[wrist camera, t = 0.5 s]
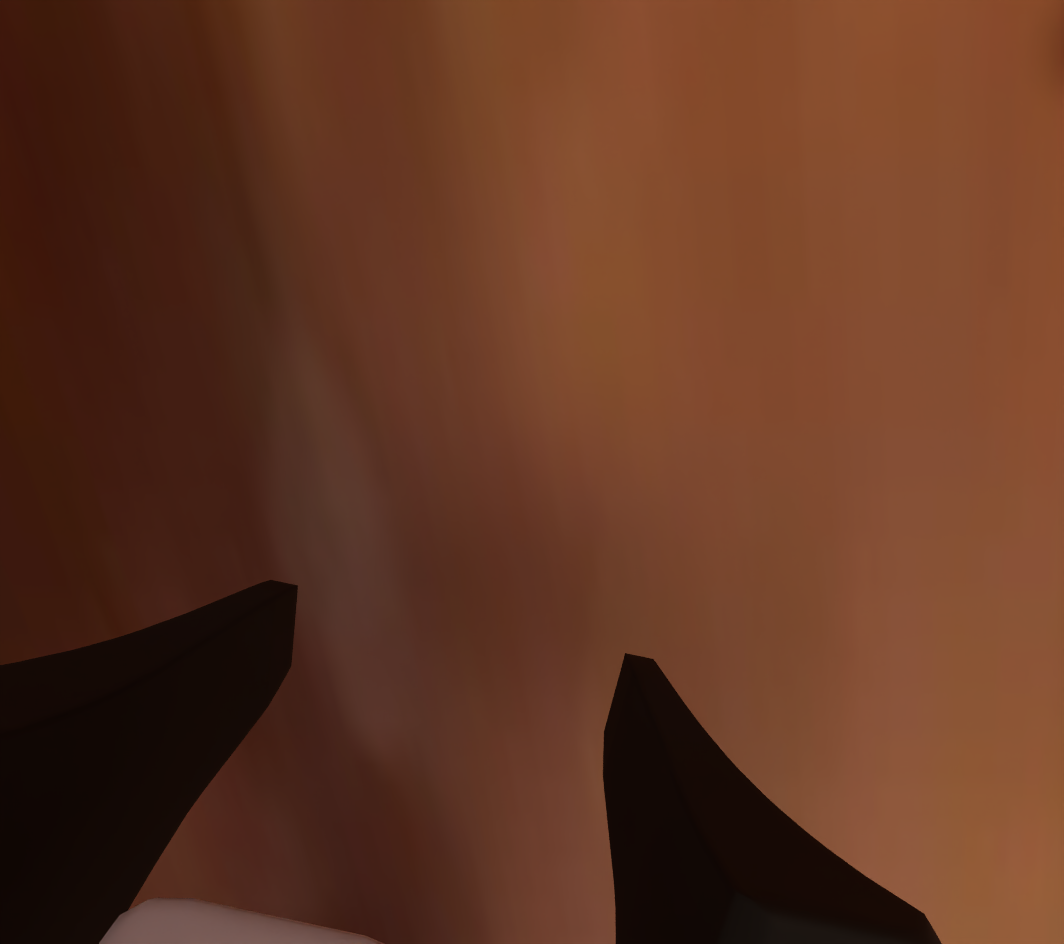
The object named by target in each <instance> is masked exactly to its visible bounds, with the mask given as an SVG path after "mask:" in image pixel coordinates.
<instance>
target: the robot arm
mask: <svg viewBox="0 0 1064 944" xmlns="http://www.w3.org/2000/svg"><path fill="white" fill-rule="evenodd" d="M297 590H298V585H293V584H288V583H283V582H278V581H273V580H269V581H266V582H263V583H260V584H257V585H254V586H252V587H249V588H247V589H244V590H242V591H240V592H237V593H235V594H232V595H230V596H228V597H225V598H223V599H220V600H218V601H215V602H213V603H211V604H208V605H206V606H203V607H201V608H198V609H196V610H193V611H191V612H188V613H186V614H183V615H180V616H178V617H175V618H172V619H170V620H167V621H164V622H161V623H159V624H156V625H153V626H150V627H148V628H145V629H142V630H139V631H136V632H133V633H130V634H127V635H124V636H121V637H118V638H114V639H111V640H108V641H104V642H100V643H97V644H93V645H90V646H86V647H83V648H79V649H75V650H71V651H66V652H62V653H57V654H53V655H48V656H43V657H39V658H34V659H30V660H25V661H21V662H16V663H11V664H5V665H0V944H384V943H382V942H379V941H377V940H375V939H372V938H370V937H368V936H365V935H360V934H356V933H351V932H346V931H342V930H337V929H333V928H328V927H323V926H319V925H314V924H309V923H305V922H300V921H295V920H291V919H286V918H282V917H277V916H272V915H268V914H263V913H258V912H254V911H249V910H244V909H240V908H235V907H231V906H226V905H221V904H217V903H212V902H207V901H203V900H198V899H193V898H155V899H149V900H147V901H145V902H143V903H141V904H139V905H137V906H136V907H134V908H132V909H130V910H128V909H129V907H130V906H131V904H132V902H133V901H134V899H135V897H136V896H137V894H138V892H139V891H140V889H141V887H142V886H143V884H144V882H145V881H146V879H147V877H148V876H149V874H150V872H151V871H152V869H153V867H154V865H155V864H156V862H157V861H158V859H159V857H160V856H161V854H162V853H163V851H164V849H165V848H166V846H167V845H168V843H169V841H170V840H171V838H172V837H173V835H174V833H175V832H176V830H177V829H178V827H179V825H180V824H181V822H182V821H183V819H184V818H185V816H186V814H187V813H188V812H189V810H190V809H191V807H192V806H193V805H194V803H195V802H196V800H197V799H198V798H199V796H200V795H201V793H202V792H203V791H204V789H205V788H206V787H207V786H208V784H209V783H210V782H211V780H212V779H213V778H214V776H215V775H216V774H217V773H218V771H219V770H220V769H221V767H222V766H223V765H224V764H225V762H226V761H227V760H228V758H229V757H230V756H231V754H232V753H233V752H234V751H235V749H236V748H237V747H238V745H239V744H240V743H241V741H242V740H243V739H244V738H245V736H246V735H247V734H248V732H249V731H250V730H251V728H252V727H253V726H254V724H255V723H256V722H257V720H258V719H259V718H260V717H261V715H262V714H263V712H264V711H265V710H266V708H267V707H268V706H269V704H270V702H271V701H272V699H273V697H274V696H275V694H276V692H277V691H278V689H279V687H280V685H281V683H282V682H283V680H284V678H285V676H286V674H287V673H288V671H289V669H290V667H291V663H292V650H293V638H294V626H295V614H296V602H297ZM603 780H604V791H605V801H606V811H607V821H608V830H609V840H610V849H611V859H612V868H613V878H614V890H615V906H616V944H942V943H941V942H940V940H939V938H938V936H937V935H936V933H935V931H934V929H933V928H932V926H931V924H930V923H929V921H928V919H927V918H926V916H925V914H924V913H922V912H921V911H919V910H917V909H916V908H914V907H913V906H911V905H910V904H908V903H907V902H905V901H903V900H902V899H900V898H899V897H897V896H896V895H894V894H893V893H891V892H889V891H888V890H886V889H885V888H883V887H882V886H880V885H879V884H877V883H875V882H874V881H872V880H871V879H869V878H868V877H866V876H865V875H863V874H862V873H860V872H859V871H857V870H856V869H855V868H853V867H852V866H851V865H849V864H848V863H847V862H845V861H844V860H842V859H841V858H840V857H838V856H837V855H836V854H834V853H833V852H832V851H830V850H829V849H827V848H826V847H825V846H824V845H822V844H821V843H820V842H819V841H817V840H816V839H815V838H813V837H812V836H811V835H810V834H808V833H807V832H806V831H805V830H804V829H802V828H801V827H800V826H799V825H798V824H797V823H795V822H794V821H793V820H792V819H791V818H790V817H788V816H787V815H786V814H785V813H784V812H783V811H781V810H780V809H779V808H778V807H777V806H776V805H775V804H774V803H772V802H771V801H770V800H769V799H768V798H767V797H766V796H765V795H764V794H763V793H762V792H761V791H760V790H759V789H758V788H757V787H756V786H755V785H754V784H753V783H752V782H751V781H750V780H749V779H748V778H747V777H746V776H745V775H744V774H743V773H742V772H741V771H740V770H739V769H738V768H737V767H736V766H735V765H734V764H733V763H732V761H731V760H730V759H729V758H728V757H727V756H726V755H725V753H724V752H723V751H722V750H721V749H720V748H719V746H718V745H717V744H716V743H715V742H714V741H713V739H712V738H711V737H710V736H709V735H708V733H707V732H706V731H705V730H704V728H703V727H702V726H701V725H700V723H699V722H698V721H697V719H696V718H695V717H694V715H693V714H692V713H691V711H690V710H689V709H688V707H687V706H686V705H685V703H684V702H683V700H682V699H681V698H680V696H679V695H678V693H677V692H676V691H675V689H674V688H673V686H672V685H671V683H670V682H669V681H668V679H667V678H666V676H665V675H664V673H663V672H662V670H661V669H660V668H659V666H658V665H657V663H656V662H655V661H654V659H650V658H646V657H641V656H636V655H631V654H626V653H625V656H624V660H623V664H622V667H621V671H620V675H619V678H618V682H617V686H616V689H615V693H614V697H613V700H612V704H611V708H610V712H609V715H608V719H607V723H606V726H605V730H604V752H603Z"/></svg>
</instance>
